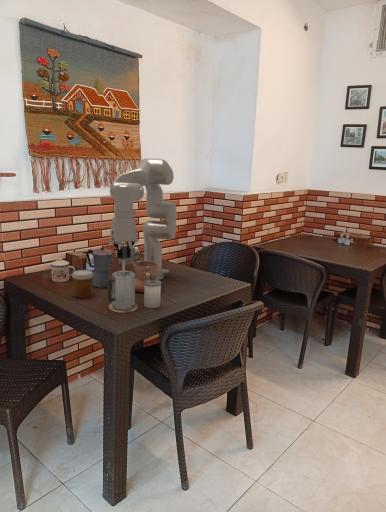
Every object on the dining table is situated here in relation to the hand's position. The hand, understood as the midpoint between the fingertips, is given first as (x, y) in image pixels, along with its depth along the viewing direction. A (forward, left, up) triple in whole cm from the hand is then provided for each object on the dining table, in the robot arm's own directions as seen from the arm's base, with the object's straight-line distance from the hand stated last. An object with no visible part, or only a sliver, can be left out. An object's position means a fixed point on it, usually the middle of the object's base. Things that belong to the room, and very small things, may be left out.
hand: (123, 257), depth 168 cm
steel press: (+1, 0, -22) cm, 22 cm away
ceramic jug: (-19, -17, -23) cm, 35 cm away
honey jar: (+11, -21, -23) cm, 33 cm away
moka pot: (-2, -34, -23) cm, 41 cm away
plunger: (0, 0, -13) cm, 13 cm away
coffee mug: (-33, -67, -23) cm, 78 cm away
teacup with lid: (+12, -50, -23) cm, 56 cm away
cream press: (-12, +4, -23) cm, 26 cm away
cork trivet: (0, 0, -23) cm, 23 cm away
